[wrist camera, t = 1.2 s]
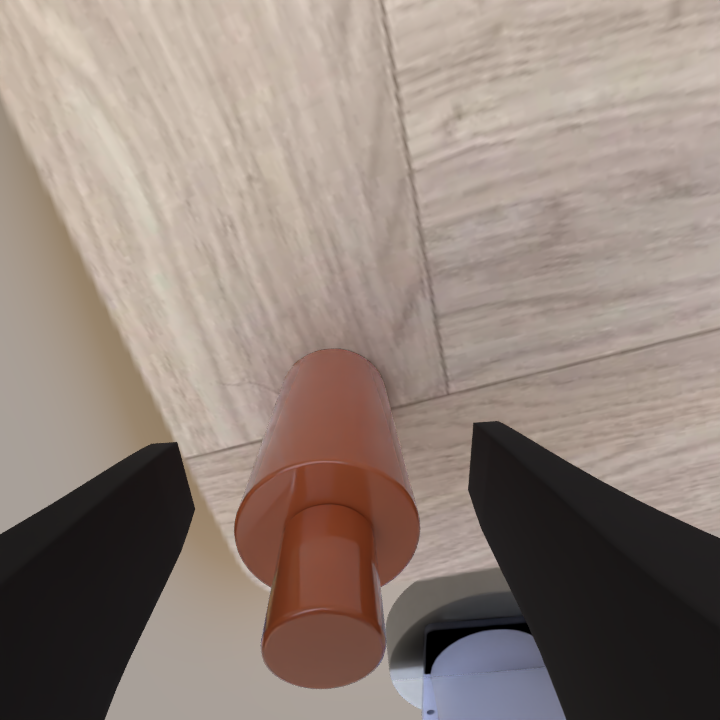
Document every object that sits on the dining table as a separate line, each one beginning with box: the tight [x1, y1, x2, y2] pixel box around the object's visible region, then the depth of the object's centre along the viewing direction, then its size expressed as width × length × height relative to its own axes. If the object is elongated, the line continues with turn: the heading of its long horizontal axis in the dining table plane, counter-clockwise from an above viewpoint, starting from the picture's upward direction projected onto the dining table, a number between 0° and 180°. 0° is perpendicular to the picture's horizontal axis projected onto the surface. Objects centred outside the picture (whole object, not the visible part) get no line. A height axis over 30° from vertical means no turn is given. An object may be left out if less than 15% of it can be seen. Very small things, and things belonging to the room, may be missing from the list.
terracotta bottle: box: [234, 349, 420, 689], centre depth 9 cm, size 4×4×8 cm
